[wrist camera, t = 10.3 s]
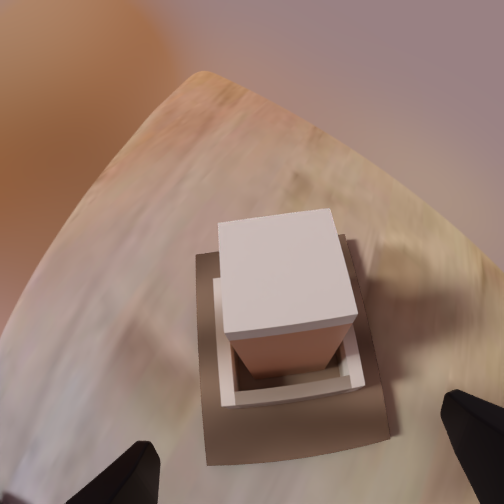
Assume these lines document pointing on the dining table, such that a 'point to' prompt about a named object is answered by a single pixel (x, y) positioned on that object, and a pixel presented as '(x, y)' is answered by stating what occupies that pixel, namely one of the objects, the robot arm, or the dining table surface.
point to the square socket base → (284, 389)
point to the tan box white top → (284, 291)
